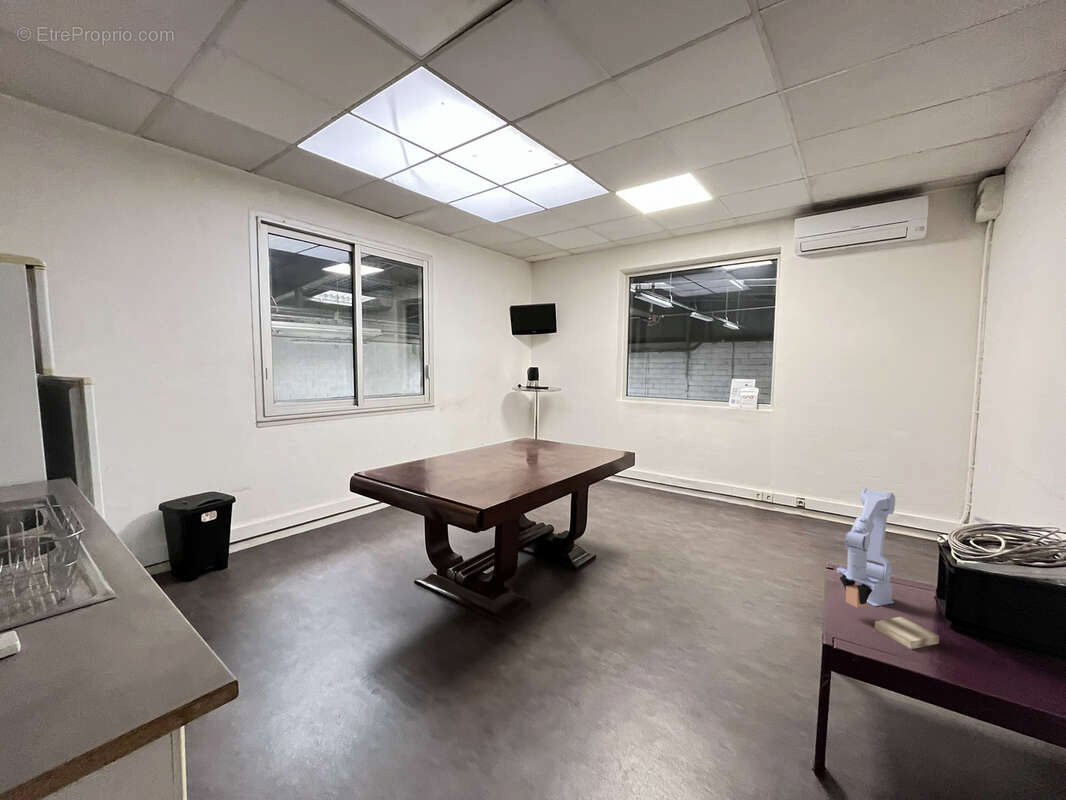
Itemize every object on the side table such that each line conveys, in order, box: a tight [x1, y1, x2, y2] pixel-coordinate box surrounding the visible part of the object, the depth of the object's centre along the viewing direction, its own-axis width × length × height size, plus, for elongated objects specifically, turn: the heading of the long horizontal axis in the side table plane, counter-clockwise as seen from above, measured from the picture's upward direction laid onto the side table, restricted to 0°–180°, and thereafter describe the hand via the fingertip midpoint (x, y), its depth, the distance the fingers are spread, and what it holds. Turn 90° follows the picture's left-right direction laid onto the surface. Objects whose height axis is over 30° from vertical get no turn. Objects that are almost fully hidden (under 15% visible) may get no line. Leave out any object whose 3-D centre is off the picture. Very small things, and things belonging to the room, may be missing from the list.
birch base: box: [874, 616, 940, 650], centre depth 149 cm, size 12×12×3 cm
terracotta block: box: [845, 584, 868, 609], centre depth 160 cm, size 4×4×6 cm
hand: (856, 599), depth 160 cm, fingers closed on terracotta block, 4 cm apart
